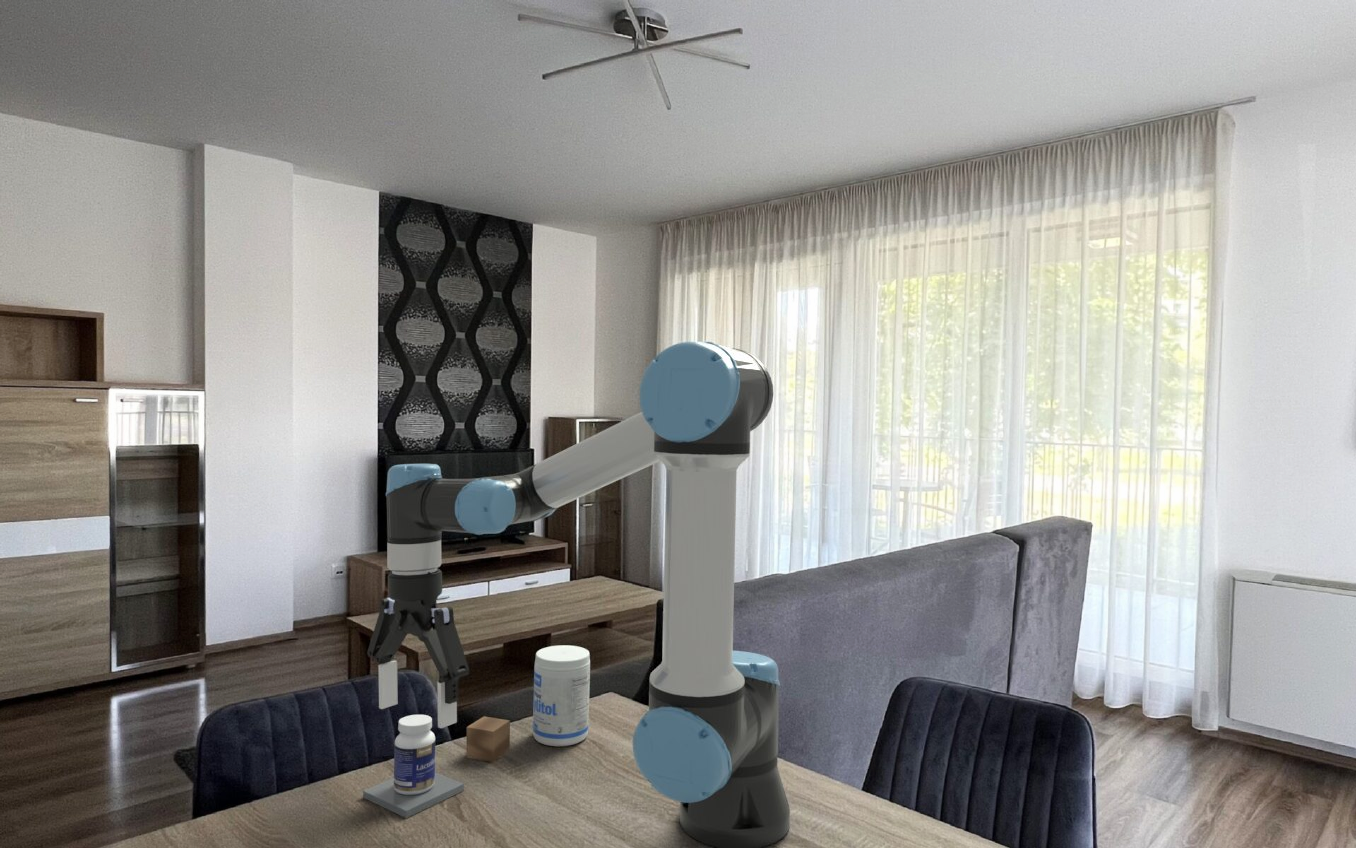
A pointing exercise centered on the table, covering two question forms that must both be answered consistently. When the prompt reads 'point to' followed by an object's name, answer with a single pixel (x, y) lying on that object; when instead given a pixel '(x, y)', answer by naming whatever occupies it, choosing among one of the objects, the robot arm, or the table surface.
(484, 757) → the walnut cube
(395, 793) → the slate coaster
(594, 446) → the robot arm
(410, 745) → the pill bottle
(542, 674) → the supplement tub
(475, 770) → the table surface
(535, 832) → the table surface
